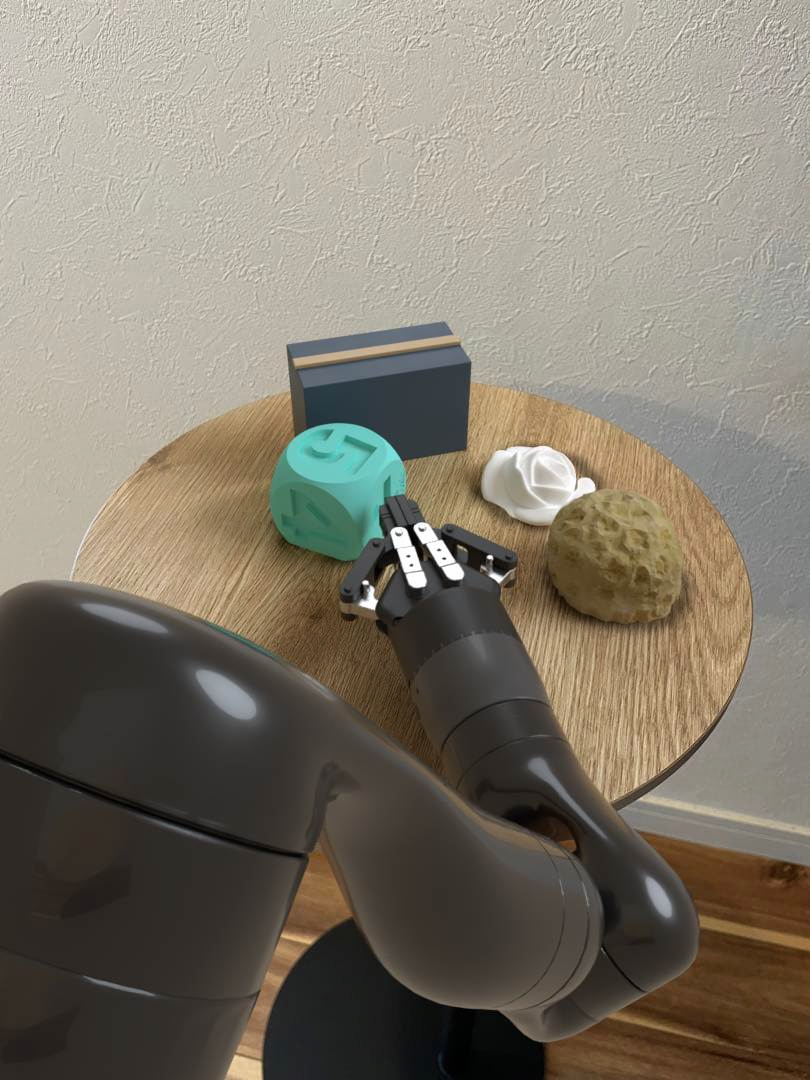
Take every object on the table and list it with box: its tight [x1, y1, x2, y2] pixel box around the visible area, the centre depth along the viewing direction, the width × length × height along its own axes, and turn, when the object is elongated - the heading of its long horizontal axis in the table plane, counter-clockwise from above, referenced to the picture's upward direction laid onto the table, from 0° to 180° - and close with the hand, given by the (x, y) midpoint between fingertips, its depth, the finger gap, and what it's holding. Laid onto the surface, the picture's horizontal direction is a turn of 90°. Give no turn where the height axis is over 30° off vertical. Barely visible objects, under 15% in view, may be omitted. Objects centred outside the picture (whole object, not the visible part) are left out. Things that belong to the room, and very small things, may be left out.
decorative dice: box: [269, 423, 407, 562], centre depth 76 cm, size 8×8×8 cm
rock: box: [547, 487, 685, 625], centre depth 71 cm, size 10×11×10 cm
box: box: [286, 321, 473, 462], centre depth 83 cm, size 14×7×10 cm, turn 106°
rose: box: [480, 445, 597, 527], centre depth 80 cm, size 10×4×10 cm
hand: (393, 505), depth 71 cm, fingers closed
